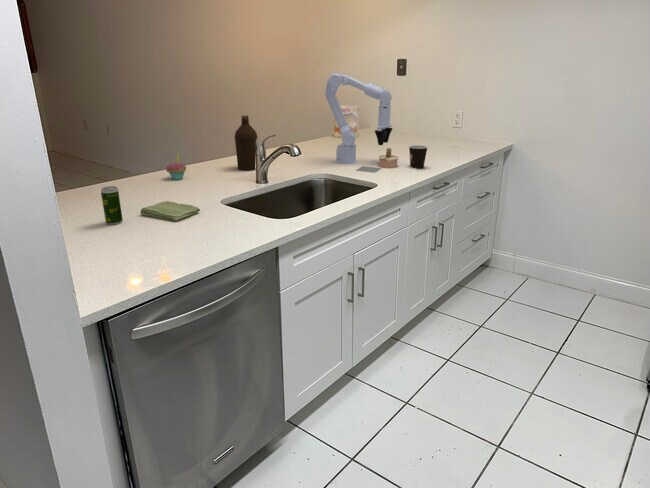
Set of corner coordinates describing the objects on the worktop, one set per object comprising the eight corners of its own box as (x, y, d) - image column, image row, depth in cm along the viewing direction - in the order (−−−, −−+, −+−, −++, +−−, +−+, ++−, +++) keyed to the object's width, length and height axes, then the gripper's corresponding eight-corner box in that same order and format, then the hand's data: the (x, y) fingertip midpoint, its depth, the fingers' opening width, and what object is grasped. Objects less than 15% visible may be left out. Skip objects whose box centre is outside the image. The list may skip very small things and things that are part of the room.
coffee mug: (425, 169, 245) (427, 149, 241) (407, 168, 246) (408, 148, 243) (426, 164, 255) (427, 144, 252) (408, 163, 257) (410, 144, 253)
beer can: (117, 219, 175) (112, 185, 170) (126, 222, 172) (121, 187, 167) (102, 223, 171) (97, 188, 167) (111, 226, 168) (105, 191, 163)
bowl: (376, 167, 249) (377, 159, 247) (382, 164, 256) (382, 156, 255) (393, 169, 245) (394, 161, 244) (398, 165, 253) (399, 157, 251)
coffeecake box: (334, 137, 330) (334, 106, 323) (335, 135, 336) (335, 105, 329) (357, 138, 327) (357, 106, 320) (358, 136, 334) (359, 105, 327)
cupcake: (190, 177, 230) (188, 150, 226) (179, 181, 223) (177, 154, 218) (174, 175, 233) (171, 149, 228) (163, 180, 225) (160, 153, 221)
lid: (376, 159, 247) (376, 149, 245) (381, 156, 255) (381, 146, 253) (396, 161, 244) (396, 151, 242) (400, 157, 252) (400, 147, 250)
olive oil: (239, 171, 240) (235, 117, 231) (234, 167, 249) (231, 114, 240) (261, 170, 243) (258, 116, 234) (256, 165, 252) (253, 113, 243)
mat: (355, 171, 241) (355, 170, 241) (362, 167, 250) (362, 166, 250) (375, 173, 238) (375, 172, 237) (382, 169, 246) (382, 168, 246)
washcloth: (177, 224, 171) (176, 215, 170) (138, 216, 179) (137, 207, 178) (202, 213, 182) (202, 204, 181) (164, 206, 190) (164, 198, 188)
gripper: (387, 118, 241) (386, 146, 246) (396, 114, 254) (395, 142, 259) (373, 117, 244) (372, 145, 249) (383, 113, 256) (381, 140, 261)
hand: (383, 143), depth 254 cm, fingers open, 7 cm apart
